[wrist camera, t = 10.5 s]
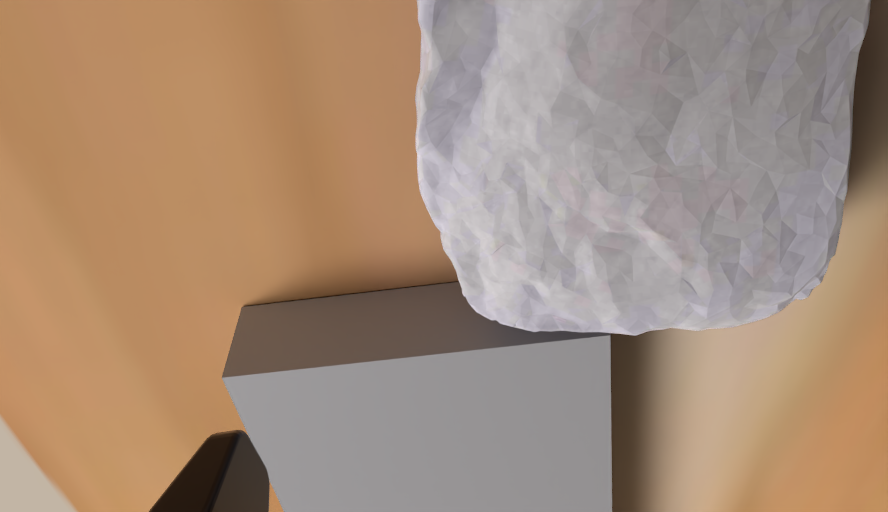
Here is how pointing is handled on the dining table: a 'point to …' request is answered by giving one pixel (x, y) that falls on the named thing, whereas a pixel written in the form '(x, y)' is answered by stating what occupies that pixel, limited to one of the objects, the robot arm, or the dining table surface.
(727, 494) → the dining table surface
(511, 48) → the stone block
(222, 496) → the robot arm
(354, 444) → the gray plinth
